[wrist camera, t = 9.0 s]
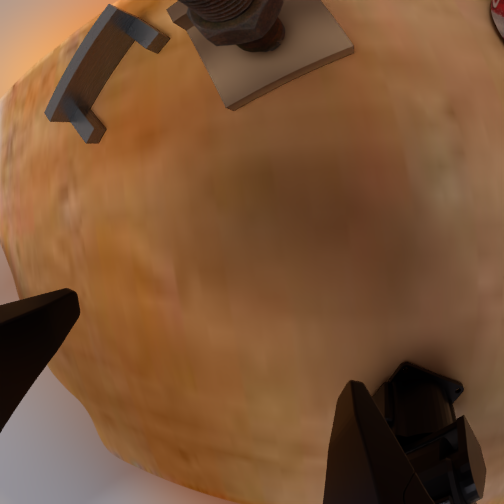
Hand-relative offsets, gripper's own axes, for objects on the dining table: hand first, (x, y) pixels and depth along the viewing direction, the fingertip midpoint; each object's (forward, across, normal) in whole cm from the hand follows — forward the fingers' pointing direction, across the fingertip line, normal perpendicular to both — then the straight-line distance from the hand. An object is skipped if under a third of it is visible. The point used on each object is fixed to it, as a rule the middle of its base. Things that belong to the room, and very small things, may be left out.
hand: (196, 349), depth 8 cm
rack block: (+14, +3, -13) cm, 20 cm away
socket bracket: (+16, +16, -9) cm, 24 cm away
